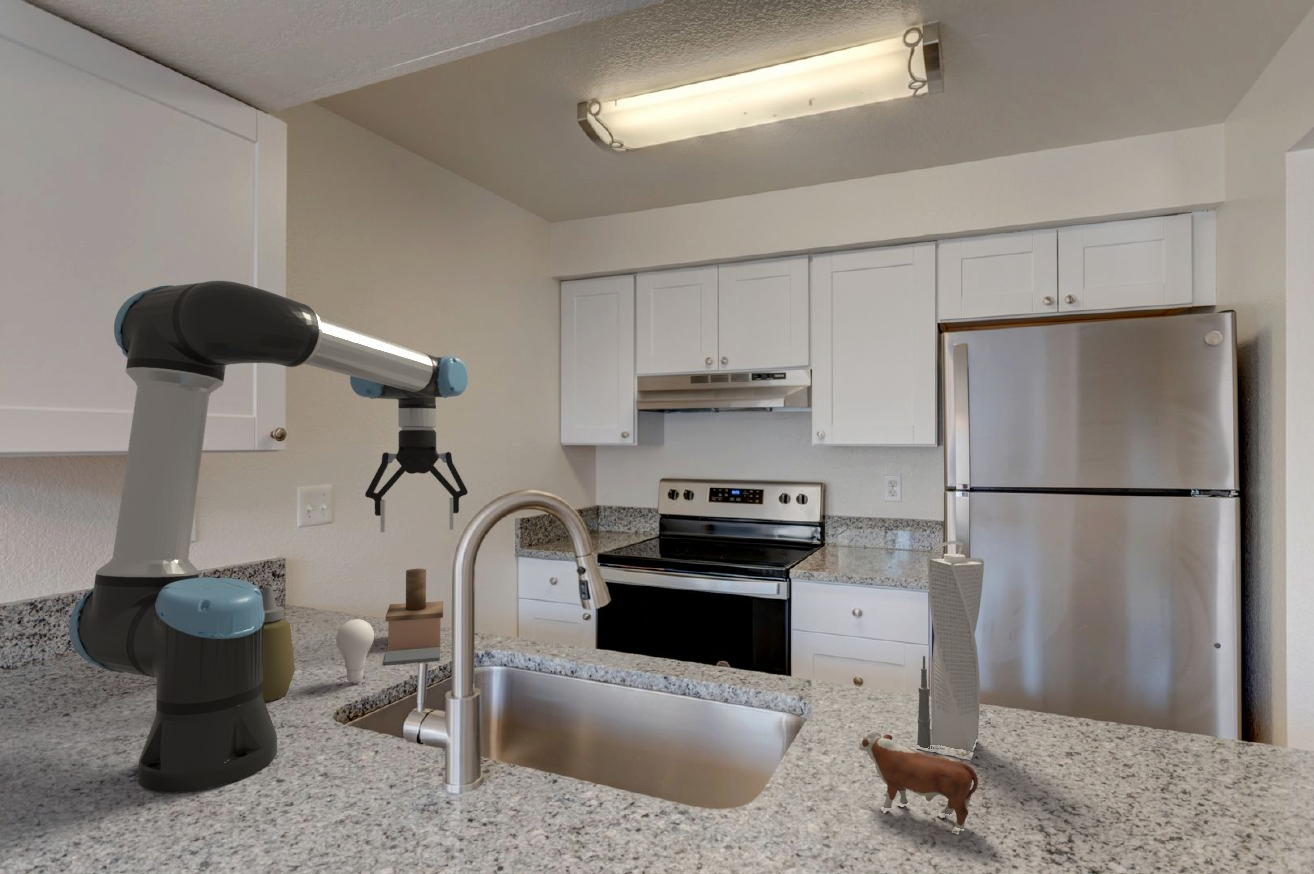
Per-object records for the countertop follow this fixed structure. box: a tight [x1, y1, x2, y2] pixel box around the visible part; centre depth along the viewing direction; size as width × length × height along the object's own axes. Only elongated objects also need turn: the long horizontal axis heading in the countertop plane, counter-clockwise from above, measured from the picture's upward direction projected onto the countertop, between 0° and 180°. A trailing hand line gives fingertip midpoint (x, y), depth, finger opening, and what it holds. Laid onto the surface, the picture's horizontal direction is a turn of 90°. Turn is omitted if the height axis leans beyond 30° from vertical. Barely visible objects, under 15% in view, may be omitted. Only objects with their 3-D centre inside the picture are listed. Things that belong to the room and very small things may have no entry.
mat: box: [383, 646, 441, 666], centre depth 136 cm, size 10×7×1 cm
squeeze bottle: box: [261, 586, 296, 702], centre depth 114 cm, size 8×8×18 cm
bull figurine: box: [858, 729, 979, 830], centre depth 79 cm, size 4×13×8 cm, turn 51°
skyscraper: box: [916, 540, 985, 752], centre depth 97 cm, size 8×8×28 cm
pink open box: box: [387, 618, 442, 651], centre depth 146 cm, size 10×10×6 cm
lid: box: [385, 568, 444, 622], centre depth 146 cm, size 11×11×9 cm
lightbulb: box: [335, 618, 375, 684], centre depth 121 cm, size 6×6×11 cm
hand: (417, 530), depth 146 cm, fingers open, 13 cm apart
